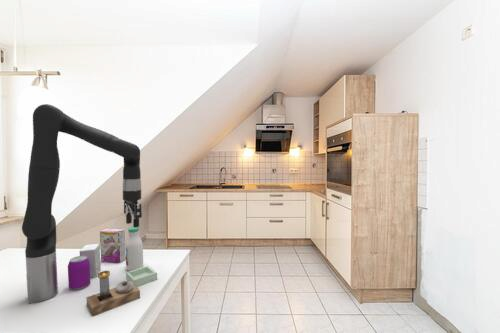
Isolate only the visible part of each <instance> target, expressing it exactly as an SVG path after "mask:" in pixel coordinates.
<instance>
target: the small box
mask: <svg viewBox="0 0 500 333" xmlns="http://www.w3.org/2000/svg"><path fill="white" fill-rule="evenodd" d="M79 256H87V258H88V259H89V263H90V279H91V278H96V277H97V278H98V273H100V272H101V270H102V265H101V263H102V262H101V245H100V243H92V244H85V245H84V246H83V247H82V248H81V249H80V250H79Z"/></svg>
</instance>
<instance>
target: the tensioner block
mask: <svg viewBox="0 0 500 333" xmlns="http://www.w3.org/2000/svg"><path fill="white" fill-rule="evenodd" d="M109 295H110V298H108V299H106V300H103V301H100V292H99V293H95V294H92V295H89V296H86V306H87V308H88V310H89V313H90V314H91V316H92V317H95V316H96V315H99V314H102V313H104V312H106V311H110V310H112V309H115V308H117V307H119V306H123V305H124V304H127V303H129V302H133V301H135V300H138V299H140V298H141V290H140V289H139V288H138V286H137V287H136V286H135V285H134V284H133V282H132V281H127V280H124V281H121V282H119V283H117V284H116V286H115V287H113V288H109Z"/></svg>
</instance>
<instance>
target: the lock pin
mask: <svg viewBox="0 0 500 333" xmlns="http://www.w3.org/2000/svg"><path fill="white" fill-rule="evenodd" d="M110 275H111V271H110V270H103V271H100V272H99V273H98V275H97V278H98V280H99V293H100V301H103V300H106V299H108V298H110V295H109V289H110V278H109V276H110Z"/></svg>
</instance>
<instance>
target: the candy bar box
mask: <svg viewBox="0 0 500 333" xmlns="http://www.w3.org/2000/svg"><path fill="white" fill-rule="evenodd" d="M125 232H126V231H125V229H119V228H118V229H117V228H115V229H113V228H105V229H103V230H100V231H99V242H100V243H99V244H100V263H113V264H115V263H116V264H121V263H122V262H123V261H126V238H125V237H126V235H125V234H126V233H125Z"/></svg>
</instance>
